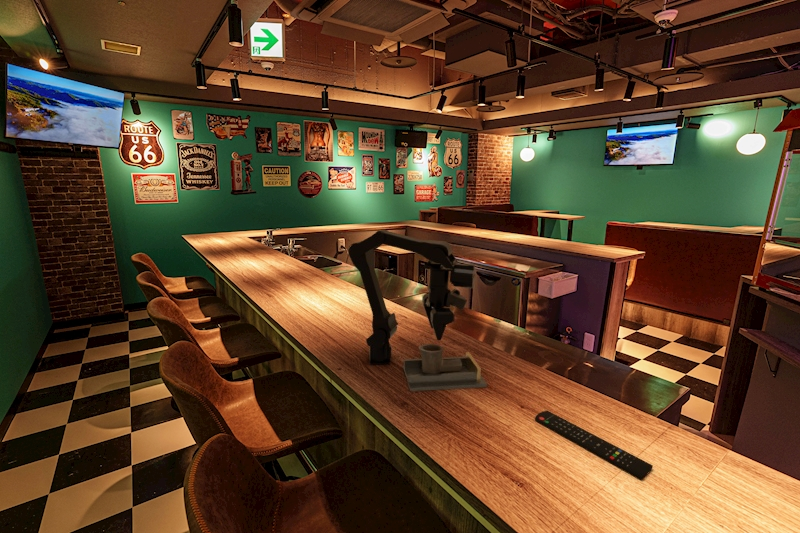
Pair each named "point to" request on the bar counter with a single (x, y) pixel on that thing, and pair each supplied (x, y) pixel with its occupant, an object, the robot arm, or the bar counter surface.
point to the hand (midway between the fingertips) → (435, 333)
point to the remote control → (595, 444)
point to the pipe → (437, 360)
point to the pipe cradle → (444, 375)
